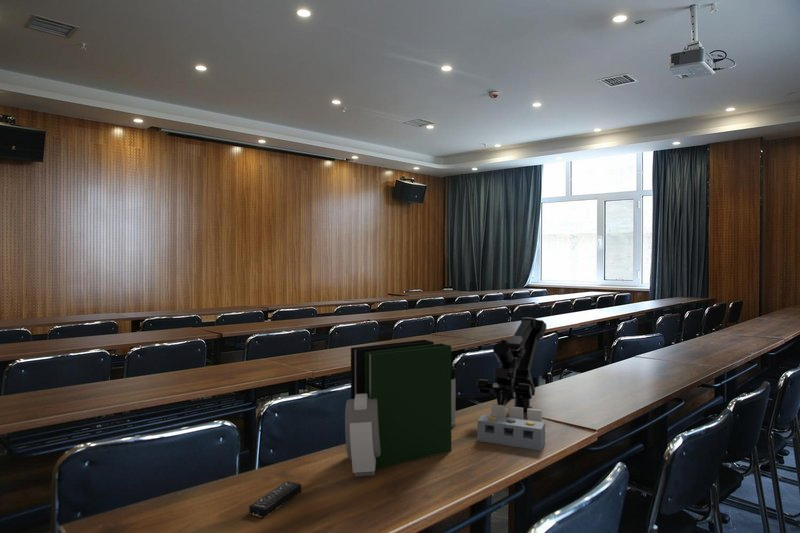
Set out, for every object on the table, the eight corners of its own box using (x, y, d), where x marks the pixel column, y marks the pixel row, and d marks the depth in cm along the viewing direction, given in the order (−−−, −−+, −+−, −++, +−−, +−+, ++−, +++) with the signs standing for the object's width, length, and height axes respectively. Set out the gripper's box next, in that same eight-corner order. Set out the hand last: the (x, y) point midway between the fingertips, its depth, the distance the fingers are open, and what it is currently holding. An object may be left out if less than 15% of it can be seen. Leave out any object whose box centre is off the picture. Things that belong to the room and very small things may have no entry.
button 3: (527, 426, 164) (527, 408, 164) (541, 428, 162) (541, 410, 162) (523, 433, 157) (523, 414, 157) (537, 435, 155) (537, 416, 155)
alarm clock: (353, 454, 147) (348, 387, 146) (382, 452, 147) (377, 385, 146) (348, 483, 129) (342, 407, 128) (380, 481, 129) (375, 405, 128)
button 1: (492, 421, 169) (492, 404, 169) (505, 423, 167) (505, 405, 167) (486, 428, 162) (486, 409, 162) (499, 430, 160) (499, 411, 160)
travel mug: (455, 428, 171) (455, 370, 171) (436, 427, 172) (436, 369, 172) (457, 423, 177) (457, 366, 177) (438, 421, 178) (438, 366, 178)
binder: (373, 471, 136) (372, 354, 136) (349, 453, 149) (348, 347, 149) (451, 450, 151) (451, 345, 151) (423, 436, 163) (423, 339, 163)
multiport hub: (301, 492, 125) (301, 483, 125) (264, 520, 111) (264, 510, 111) (287, 489, 126) (287, 480, 126) (248, 516, 113) (248, 506, 113)
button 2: (509, 424, 166) (509, 406, 166) (523, 425, 164) (523, 407, 164) (504, 430, 160) (504, 412, 160) (518, 432, 158) (518, 414, 158)
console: (483, 433, 166) (483, 413, 166) (545, 443, 157) (545, 421, 157) (477, 440, 159) (477, 419, 159) (541, 450, 151) (541, 428, 151)
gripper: (477, 356, 178) (468, 394, 168) (530, 360, 170) (523, 401, 160) (483, 374, 185) (475, 411, 175) (534, 379, 177) (528, 418, 167)
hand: (499, 410), depth 169 cm, fingers closed
